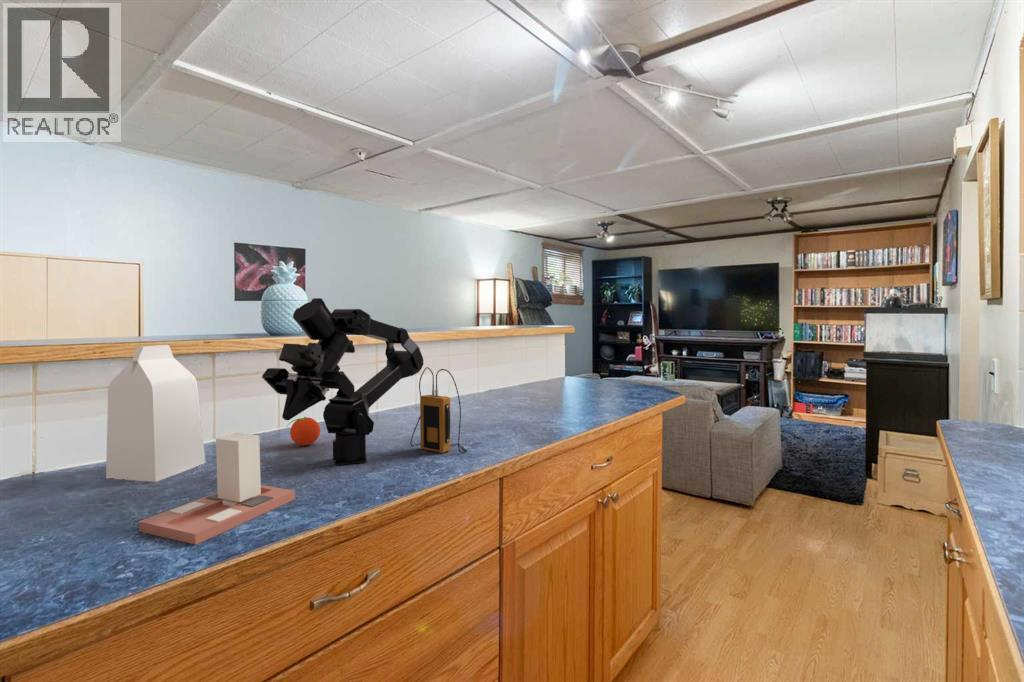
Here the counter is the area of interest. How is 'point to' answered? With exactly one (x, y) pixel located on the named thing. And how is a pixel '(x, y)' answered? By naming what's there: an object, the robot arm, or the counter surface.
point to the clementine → (304, 431)
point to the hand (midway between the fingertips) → (285, 419)
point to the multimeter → (436, 420)
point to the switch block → (212, 515)
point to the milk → (153, 418)
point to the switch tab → (238, 468)
